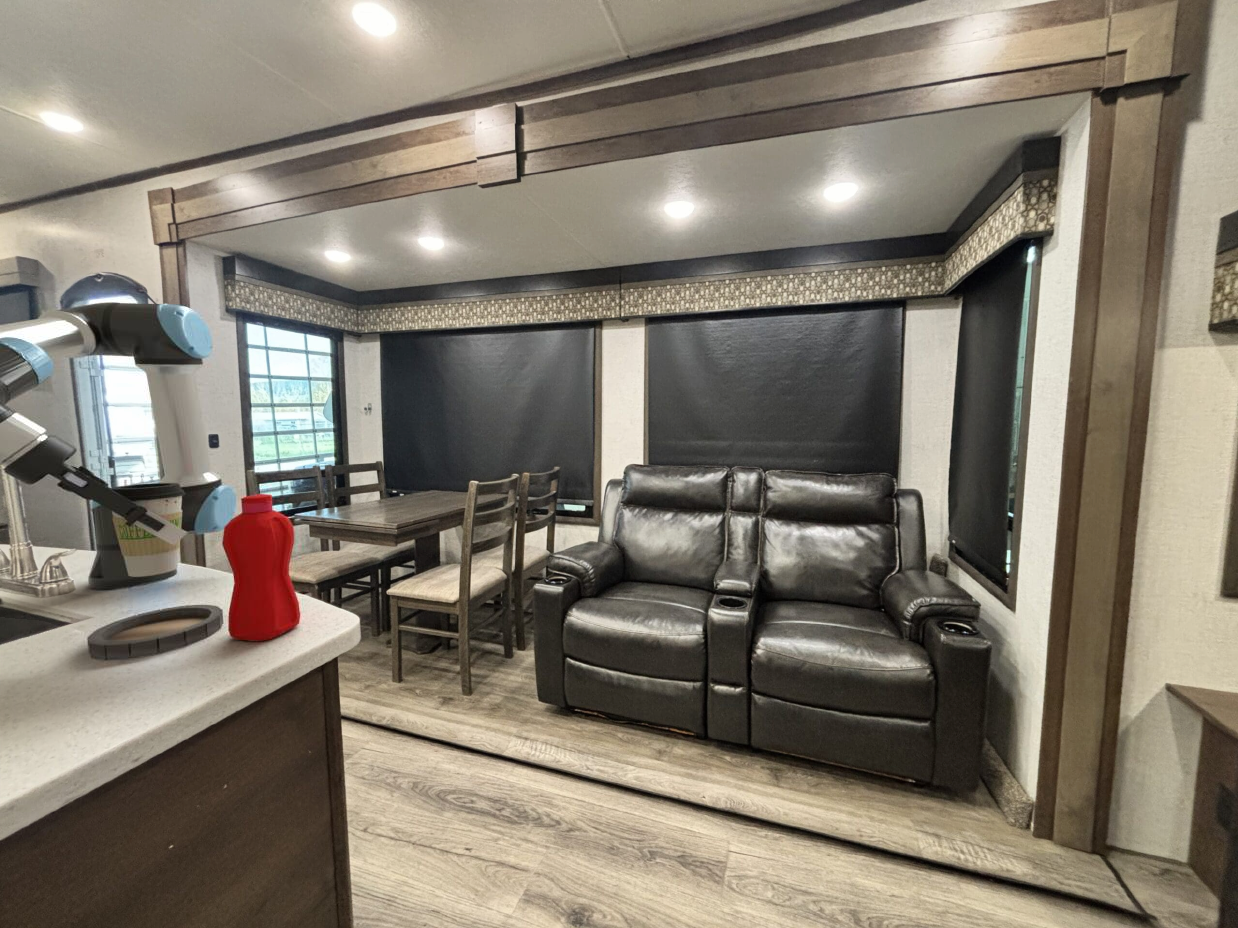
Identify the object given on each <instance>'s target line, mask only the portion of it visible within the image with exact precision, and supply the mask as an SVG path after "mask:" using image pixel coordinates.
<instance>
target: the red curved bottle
mask: <svg viewBox="0 0 1238 928" xmlns="http://www.w3.org/2000/svg"><path fill="white" fill-rule="evenodd" d="M240 501H241V513H240V514H238V515H236V516H233V517H232V519H231V520H230V522H229V523H228V524H227V525H226V526H225V528H224V529H223V537H222V543H221V546H222V547H223V549H224V552H225V555H226V557H227V561H228V563H229V566H230V568H231V571H232V574H233V583H234V584H233V589H232V594H231V599H230V604H229V609H228V628H227V629H228V634H229V636H230V638H232V639H234V640H240V641H251V642H263V641H268V640H272V639H274V638H276V637H278V636H281V635H282V634H284V633H286V632H288V631H290V630H293V629H295V628H296V627H297V626H298V625H299V624H300V620H301V609H300V604H299V603H300V602H299V599H298V596H297V593H296V590H295V587H294V585H293V581H292V580H291V579H292V578H291V576H290V562H291V558H292V552H293V548H294V544H295V529H294V526H293V525H294V524H293V523H292V522H291V520H290V518H289V517H288V516H286V515H285V514H283V513H280V511H277V510H274V508H273V495H272V494H269V493H268V494H267V493H257V494H252V495H247V496H244V497H241V499H240Z"/></svg>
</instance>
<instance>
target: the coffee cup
mask: <svg viewBox="0 0 1238 928" xmlns="http://www.w3.org/2000/svg"><path fill="white" fill-rule="evenodd" d="M136 484H137V485H133V484H126V485H119V486H114V487H109V488H110V489H111V490H113V491H115V492H116V493H118V494H120V495H121V496H123V497H125V498H127V499H128V500H130V501H132V502H133V503H135V504H137V505H139V506H142V507H144V508H146V510H149V511H151V512H153V513H155V514H156V515H158V516H160V517H162V518H163V519H165V520H167V521H169V522H170V523H172V524H174V525H175V526H177V527H179V528H181V523H182V510H181V503H182V495H185V493H184V490H182V489H181V487H180V485H179V483H151V484H140V483H136ZM132 510H133V509H132ZM112 513H113V517H112V519H113V522H114V526H115V530H116V534H117V537H118V541H119V545H120V549H121V552H122V555H123V556H124V560H125V563H126V567H127V571H128V575H129V576H132V577H141V576H151V575H157V574H162V573H166V572H170V571H173V570H175V569H177V570H178V562H179V551H180V548H181V539H180V540H179V541H178V542H177V543H176V544H175V545H174V546H173V545H172V544H170V543H168V542H166V541H164V540H163V539H161V538H159V537H157V536H155V535H153V534H152V533H150V532H148V531H146V530H144V529H142V528H141V527H139V526H137V525H135V524H133V525H131V526H130V527H129V526H127V525H125V523H126V522H127V520H125V518H123V517H122V516H120V515H118V514H116V513H114V512H113V511H112Z"/></svg>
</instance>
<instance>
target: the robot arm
mask: <svg viewBox="0 0 1238 928" xmlns="http://www.w3.org/2000/svg"><path fill="white" fill-rule="evenodd" d="M212 349H213V339H212V336H211V332H210V330H209V326H208V325H207V323H206V322H205V320H204V319H203V318H202V317H201V315H199V313H197V312H196V311H195V310H193V309H192V308H190V307H188V306H185V305H177V304H169V303H140V302H139V303H137V302H136V303H135V302H134V303H132V302H130V303H127V302H117V301H116V302H98V303H96V302H95V303H90V304H85V305H78V306H73V307H68V308H62V309H58V310H57V309H56V310H50V311H47V312H44V313H42V314H41V315H39V316H38V318H36V319H35V318H34V319H30V320H22V321H17V322H12V323H5V324H0V466H3V467H4V468H2V471H4V474H7V475H9V476H10V477H13V478H14V479H16V480H18V481H20V482H22V483H24V484H25V485H34V484H36V483H38V482H40V481H41V480H42V479H44V478H46V476H48V475H50V476H51V477H53V478H55V479H57V480H59V482H58V483H57V484H56V485H57V487H59V488H61V489H63V490H65V491H66V492H68V493H73V494H75V495H76V496H78V497H80V498H82V499H85V500H87V501H91V508H90V510H91V512H92V518H93V519H92V520H93V529H94V539H95V546H96V553H95V557H94V560H93V563H92V565H91V568H90V569H91V570H90V571H89V575H88V578H87V579H88V580H87V581H88V588H90V589H93V590H113V589H114V590H115V589H123V588H129V587H130V588H131V587H135V586H142V585H147V584H151V583H155V582H159V581H162V580H165V579H168V578H171V577H174V576H175V575H177V573H178V568H177V569H175V570H173V571H170V572H166V573H162V574H157V575H151V576H141V577H132V576H129V575H128V571H127V567H126V563H125V560H124V556H123V555H122V552H121V549H120V545H119V541H118V537H117V534H116V530H115V526H114V522H113V519H112V517H113V513H112V511H113V512H114V513H116V514H118V515H120V516H122V517H123V518H125V520H127V522H126V523H125V525H127V526H129V527H130V526H131V525H133V524H135V525H137V526H139V527H141V528H142V529H144V530H146V531H148V532H150V533H152V534H153V535H155V536H157V537H159V538H161V539H163V540H164V541H166V542H168V543H170V544H172V545H173V546H174V545H175V544H176V543H177V542H178V541H179V540H180V541H181V539H183V538H184V537H185V536H186V535H205V534H211V533H217V532H218V533H219V532H221V531H222V530H223V531H224V528H225V526H226V525H227V524H228V523H229V522H230V520H231V519H233V518H234V517H235V515H234V514H235V512H236V507H237V494H236V493H235V490H234V489H233V488H232V486H230V485H227V484H223V482H222V476H221V475H219V474H218V473H216V472H214V471H213V470H212V468H213V467H212V464H211V463H212V462H211V457H210V450H209V445H208V437H207V431H206V426H205V419H204V413H203V409H202V408H203V407H202V402H201V395H200V394H201V393H200V388H199V384H198V383H199V382H198V376H197V373H198V371H199V370H200V369H201V368H202V367H204V362H203V359H205V358H208V357H209V356H210V355H211V353H212ZM90 356H111V357H113V356H114V357H133V360H134V365H135V366H136V368H139V369H140V370H142V371H143V372H144V373H145V375H146V379H147V385H148V390H149V391H148V392H149V397H150V401H151V407H152V413H153V417H154V424H155V428H156V433H157V434H156V435H157V440H158V446H159V450H160V456H161V461H162V467H163V471H164V476H163V477H162V478H161V480H159V481H148V482H142V483H139V484H151V483H179V485H180V487H181V489H182V490H184V493H185V495H182V503H181V510H182V523H181V528H179V527H177V526H175V525H174V524H172V523H170V522H169V521H167V520H165V519H163V518H162V517H160V516H158V515H156V514H155V513H153V512H151V511H149V510H146V508H144V507H142V506H139V505H137V504H135V503H133V502H132V501H130V500H128V499H127V498H125V497H123V496H121V495H120V494H118V493H116V492H115V491H113V490H111V489H110V488H111V487H109V483H108V482H106V481H105V480H103V479H101V478H100V477H98V476H97V475H95V474H94V472H92V471H91V470H89V469H88V468H86V467H84V466H82V465H80V466H78V467H77V466H72V465H70V464H67V463H66V461H67V460H69V459H70V458H72V457H73V456H74V455H75V454H76V453H77V452H78V451H77V448H76V446H74V445H73V444H70V443H69V442H68V441H65V440H63V439H62V438H60V437H59V436H57V435H53V434H50V435H47V434H46V433H47V429H46V428H45V427H43V426H41V425H40V424H38V423H36V422H35V421H33V420H31V419H29V418H28V417H26V416H25V415H23V414H21V413H20V412H17V411H15V410H14V409H12V408H11V407H9V406H8V405H6V404H7V403H9V402H11V401H13V400H14V399H16V398H18V397H20V396H22V395H23V394H25V393H27V392H28V391H30V390H32V389H33V388H37V387H38V386H39V385H41V383H42V382H44V381H45V380H46V379H48V377H50V376H51V374H53V371H54V362H53V360H56V359H59V358H63V357H65V358H71V359H79V358H80V359H81V358H84V357H90ZM137 484H138V483H134V484H132V485H137ZM132 509H133V510H132Z"/></svg>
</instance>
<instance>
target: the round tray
mask: <svg viewBox="0 0 1238 928" xmlns="http://www.w3.org/2000/svg"><path fill="white" fill-rule="evenodd" d="M222 624H223V625H224V612H223V609H222V608H220V607H219V606H217V605H213V604H212V605H211V604H188V605H180V606H173V607H167V608H166V607H165V608H161V609H156V610H151V611H147V612H142V613H137V614H135V615H131V616H127V617H126V618H123V619H122V618H121V619H118V620H116V621H114V622H110V623H107V625H104V626H101V627H100V628H98V629H95V630H94V631H93V632H92V633H90V634H89V636H87V637H86V638H87V648H88V654H89V656H90V658H91V659H94V660H101V661H121V660H122V661H123V660H133V659H138V658H144V657H150V656H154V655H159V654H163V653H167V652H171V651H174V650H176V649H182V648H184V647H187V646H190V645H192V644H195V643H198V642H200V641H202V640H204V639H207V638H209V637H211V636H212V635H214V634H215V633H217V632H218V631H220V630H221V629H222V627H223V625H222Z"/></svg>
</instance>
